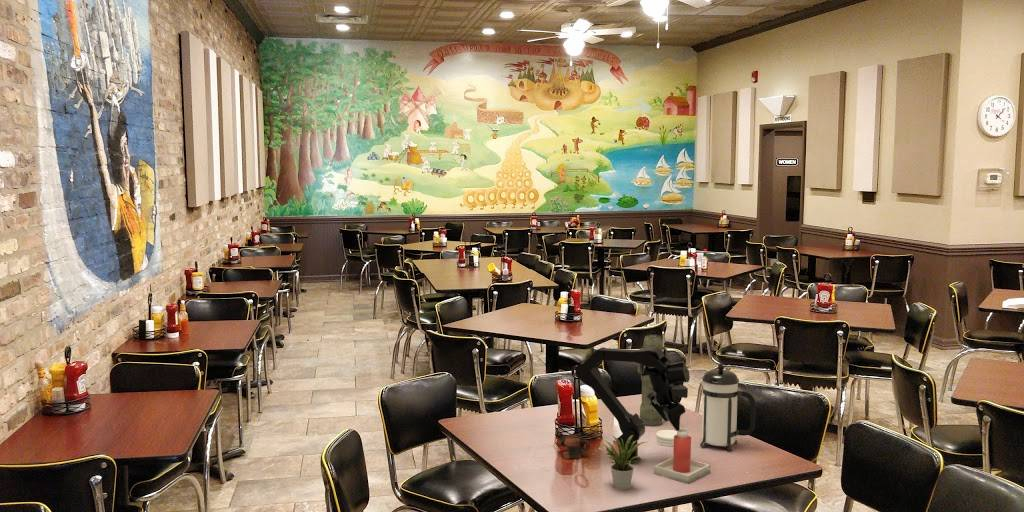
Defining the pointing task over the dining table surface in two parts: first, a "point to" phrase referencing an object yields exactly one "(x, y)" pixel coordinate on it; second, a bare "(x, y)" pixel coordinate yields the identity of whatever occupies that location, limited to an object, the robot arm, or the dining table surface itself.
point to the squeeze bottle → (682, 451)
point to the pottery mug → (573, 446)
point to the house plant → (622, 463)
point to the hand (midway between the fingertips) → (672, 425)
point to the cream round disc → (666, 437)
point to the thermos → (649, 385)
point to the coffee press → (722, 408)
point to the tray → (695, 472)
